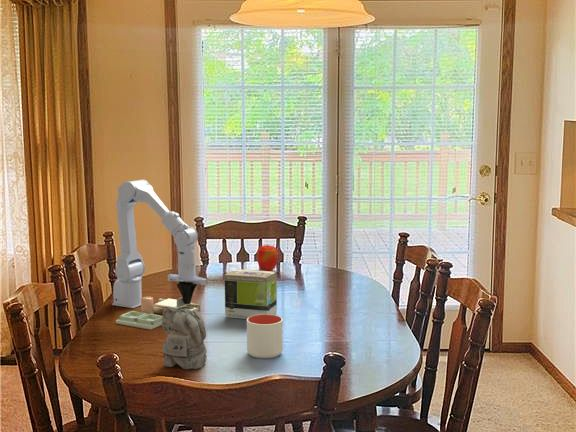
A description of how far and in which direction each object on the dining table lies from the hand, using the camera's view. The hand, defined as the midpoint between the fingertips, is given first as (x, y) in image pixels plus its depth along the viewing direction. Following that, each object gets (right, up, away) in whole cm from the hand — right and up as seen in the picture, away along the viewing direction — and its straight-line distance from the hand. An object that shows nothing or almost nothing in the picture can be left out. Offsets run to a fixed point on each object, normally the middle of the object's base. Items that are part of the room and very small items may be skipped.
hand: (187, 303), depth 232 cm
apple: (+25, +6, +62) cm, 67 cm away
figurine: (+6, -10, -47) cm, 49 cm away
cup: (+27, -9, -39) cm, 49 cm away
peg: (-13, -4, -3) cm, 14 cm away
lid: (-5, -1, +3) cm, 6 cm away
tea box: (+22, -4, -3) cm, 22 cm away
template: (-6, -3, +4) cm, 8 cm away
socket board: (-13, -5, -11) cm, 17 cm away
